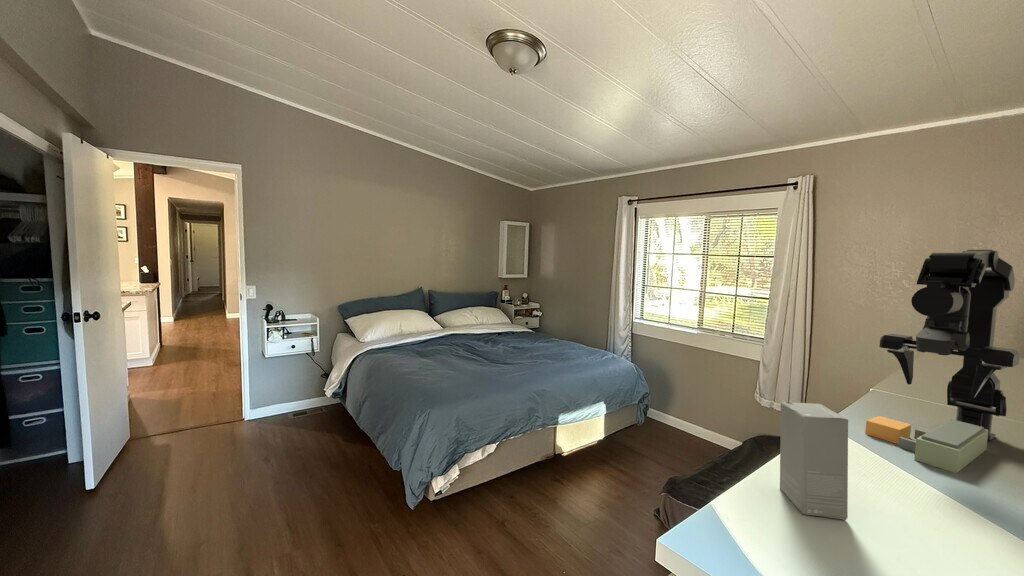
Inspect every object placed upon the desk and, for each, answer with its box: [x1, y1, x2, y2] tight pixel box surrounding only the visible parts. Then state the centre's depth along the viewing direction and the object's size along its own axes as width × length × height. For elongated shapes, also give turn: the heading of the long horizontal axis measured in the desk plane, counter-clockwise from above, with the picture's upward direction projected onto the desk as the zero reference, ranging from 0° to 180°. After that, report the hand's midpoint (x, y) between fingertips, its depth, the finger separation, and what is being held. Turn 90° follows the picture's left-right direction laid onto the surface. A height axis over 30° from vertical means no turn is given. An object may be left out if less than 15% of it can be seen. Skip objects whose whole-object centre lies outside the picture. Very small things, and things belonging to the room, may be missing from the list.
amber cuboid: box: [864, 415, 912, 445], centre depth 95 cm, size 7×6×4 cm
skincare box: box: [779, 401, 849, 521], centre depth 66 cm, size 8×7×16 cm
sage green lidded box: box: [897, 419, 988, 474], centre depth 88 cm, size 22×10×5 cm, turn 121°
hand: (939, 390), depth 83 cm, fingers open, 9 cm apart
